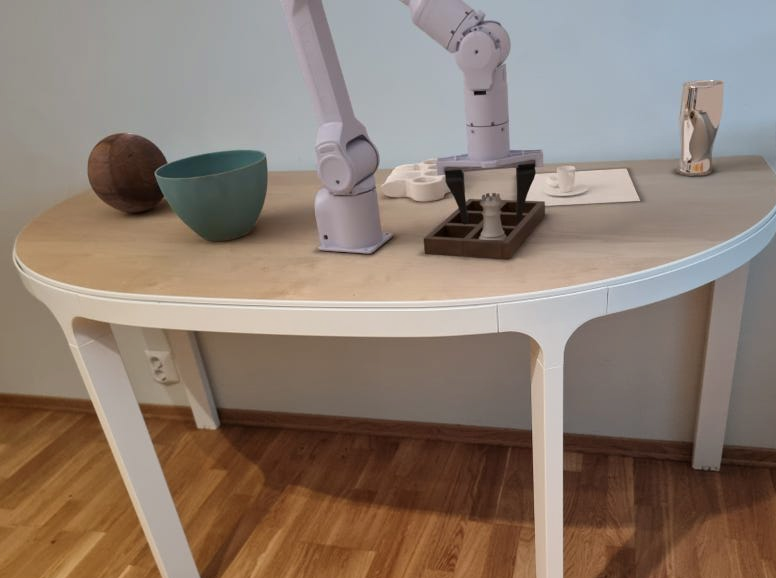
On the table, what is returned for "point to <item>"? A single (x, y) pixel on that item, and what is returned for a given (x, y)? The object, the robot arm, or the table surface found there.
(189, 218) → the plant pot
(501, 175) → the table surface
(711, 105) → the beer glass
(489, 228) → the rook chess piece
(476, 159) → the robot arm
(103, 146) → the wooden sphere
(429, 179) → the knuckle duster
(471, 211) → the rack
